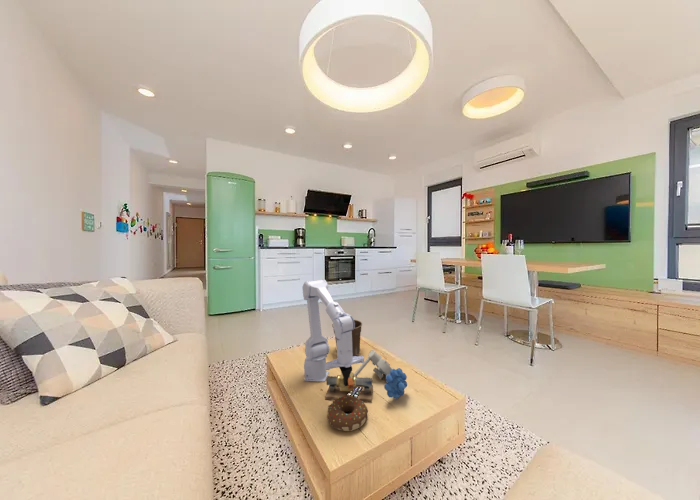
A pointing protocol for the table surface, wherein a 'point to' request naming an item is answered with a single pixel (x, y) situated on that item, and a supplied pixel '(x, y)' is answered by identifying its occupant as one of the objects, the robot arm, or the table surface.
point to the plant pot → (355, 338)
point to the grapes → (395, 383)
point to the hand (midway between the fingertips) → (345, 384)
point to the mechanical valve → (379, 362)
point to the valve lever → (350, 383)
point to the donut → (347, 420)
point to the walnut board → (339, 393)
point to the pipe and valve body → (338, 382)
